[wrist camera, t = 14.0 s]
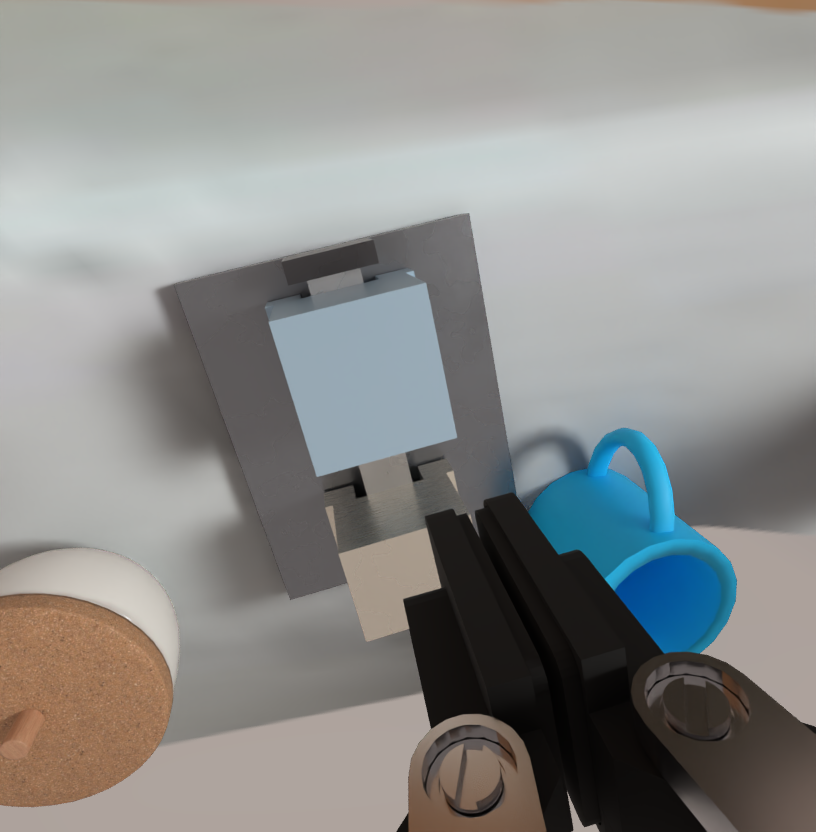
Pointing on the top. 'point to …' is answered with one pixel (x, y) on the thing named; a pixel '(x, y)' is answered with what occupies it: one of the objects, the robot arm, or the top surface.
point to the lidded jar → (81, 673)
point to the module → (364, 370)
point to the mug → (641, 545)
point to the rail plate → (275, 409)
